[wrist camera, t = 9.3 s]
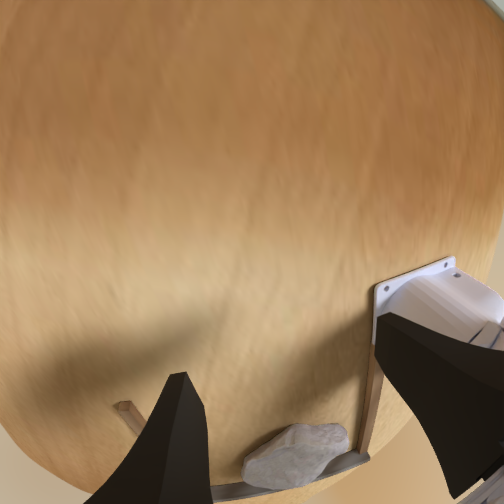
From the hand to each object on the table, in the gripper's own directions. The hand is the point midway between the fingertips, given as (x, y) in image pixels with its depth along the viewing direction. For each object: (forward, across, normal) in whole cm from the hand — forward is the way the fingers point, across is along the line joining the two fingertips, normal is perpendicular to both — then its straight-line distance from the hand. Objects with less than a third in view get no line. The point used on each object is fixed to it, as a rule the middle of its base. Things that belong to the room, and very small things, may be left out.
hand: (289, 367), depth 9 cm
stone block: (+10, +1, +24) cm, 26 cm away
